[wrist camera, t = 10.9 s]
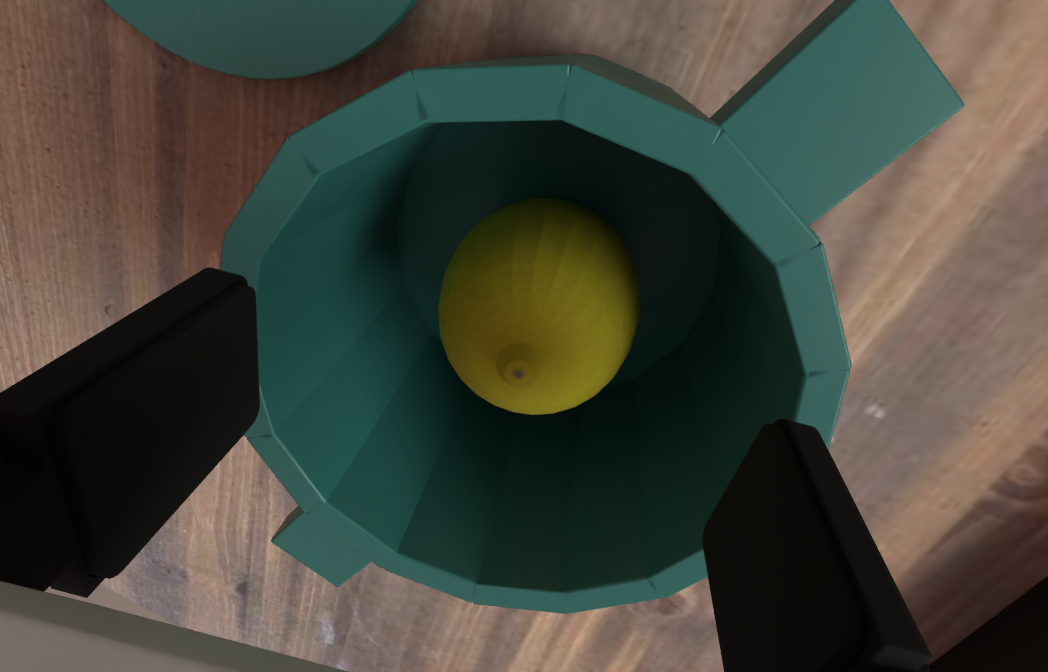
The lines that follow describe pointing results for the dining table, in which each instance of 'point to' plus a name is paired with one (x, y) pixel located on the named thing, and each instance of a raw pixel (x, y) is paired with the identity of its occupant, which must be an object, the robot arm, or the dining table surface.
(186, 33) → the lid
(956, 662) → the food platter
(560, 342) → the lemon
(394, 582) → the dining table surface
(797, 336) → the pot
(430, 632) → the dining table surface
